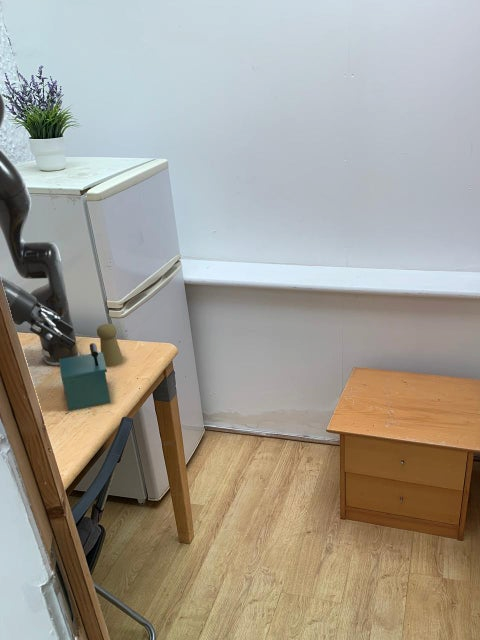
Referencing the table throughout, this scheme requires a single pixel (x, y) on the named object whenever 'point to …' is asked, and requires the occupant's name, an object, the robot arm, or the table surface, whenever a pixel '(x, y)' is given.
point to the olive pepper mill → (109, 345)
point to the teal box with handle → (83, 364)
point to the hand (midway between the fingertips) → (72, 338)
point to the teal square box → (86, 391)
